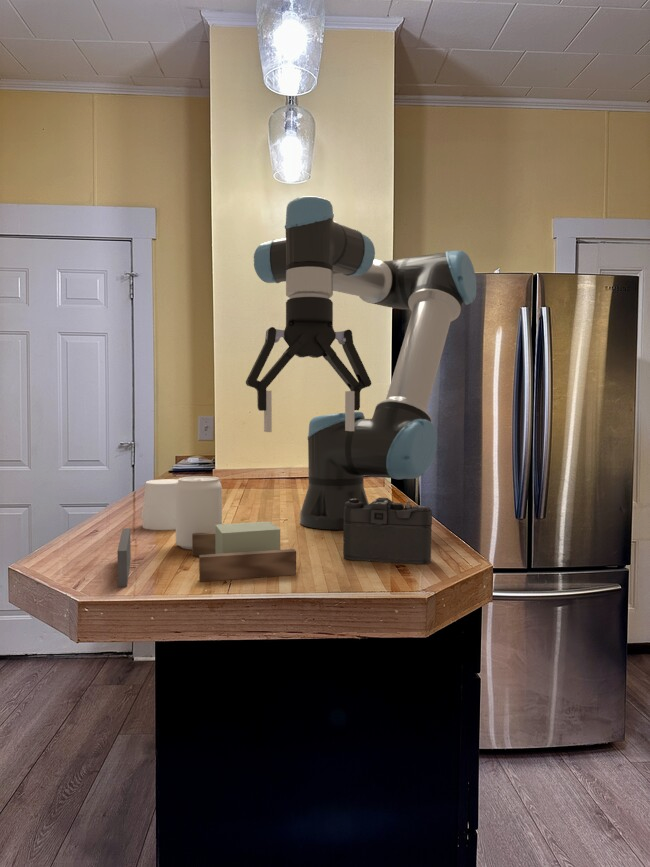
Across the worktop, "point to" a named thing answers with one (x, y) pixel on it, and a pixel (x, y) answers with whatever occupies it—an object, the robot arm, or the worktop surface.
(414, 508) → the camera
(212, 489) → the beverage can
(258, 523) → the block
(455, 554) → the worktop surface
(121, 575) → the bar
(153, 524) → the mug
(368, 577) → the worktop surface
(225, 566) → the pair of brown rails
